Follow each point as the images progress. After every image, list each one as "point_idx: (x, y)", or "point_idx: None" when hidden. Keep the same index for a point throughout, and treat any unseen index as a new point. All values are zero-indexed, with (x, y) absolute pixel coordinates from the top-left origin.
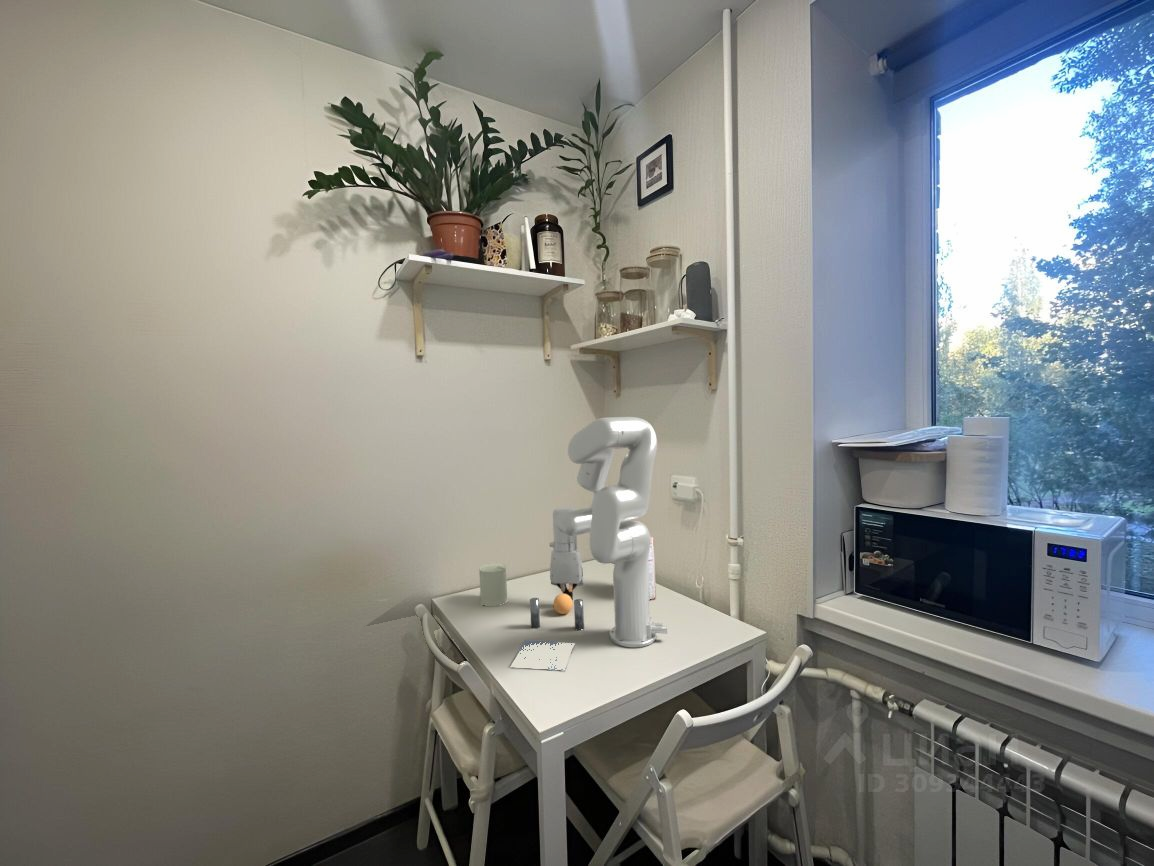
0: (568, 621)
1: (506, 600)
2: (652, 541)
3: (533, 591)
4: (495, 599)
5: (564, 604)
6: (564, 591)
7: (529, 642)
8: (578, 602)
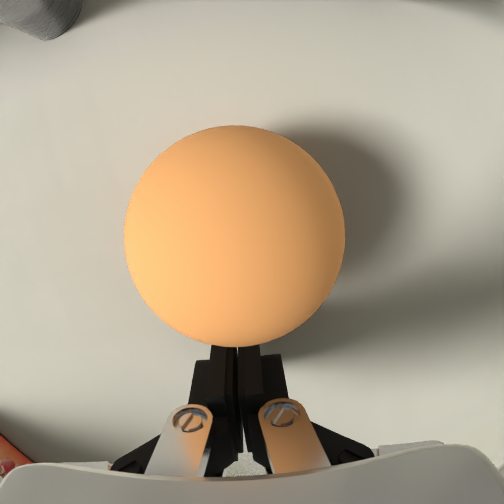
0: (148, 77)
1: None
2: None
3: (460, 437)
4: None
5: (179, 143)
6: (268, 412)
7: None
8: None
